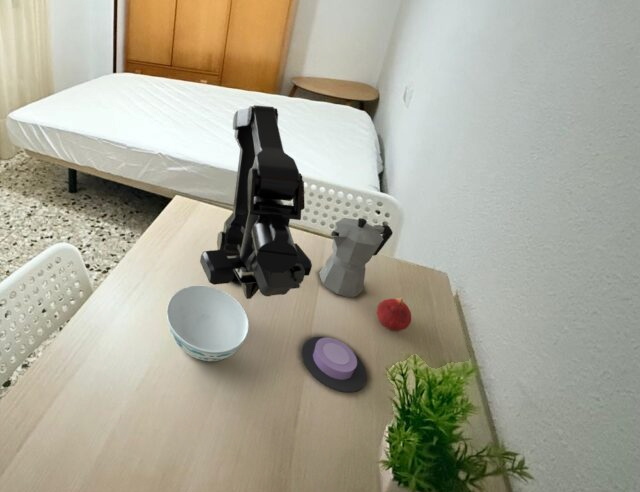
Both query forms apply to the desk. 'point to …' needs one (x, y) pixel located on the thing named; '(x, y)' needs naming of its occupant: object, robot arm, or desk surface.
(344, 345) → the purple disc
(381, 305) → the red pomegranate
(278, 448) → the desk surface
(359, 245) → the coffeepot
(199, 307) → the chinaware
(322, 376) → the coaster
